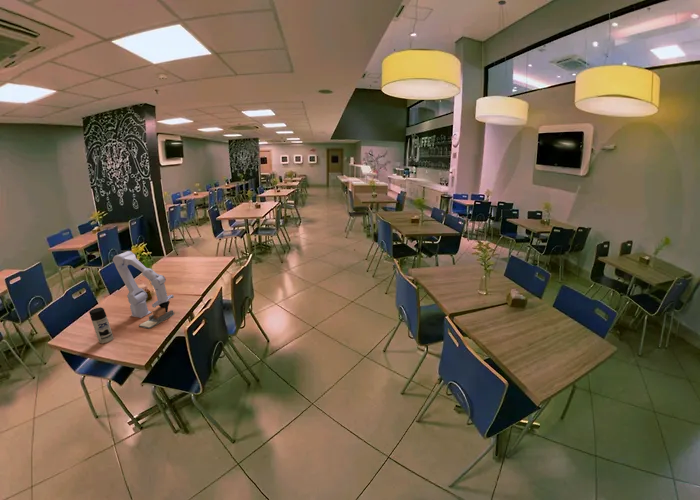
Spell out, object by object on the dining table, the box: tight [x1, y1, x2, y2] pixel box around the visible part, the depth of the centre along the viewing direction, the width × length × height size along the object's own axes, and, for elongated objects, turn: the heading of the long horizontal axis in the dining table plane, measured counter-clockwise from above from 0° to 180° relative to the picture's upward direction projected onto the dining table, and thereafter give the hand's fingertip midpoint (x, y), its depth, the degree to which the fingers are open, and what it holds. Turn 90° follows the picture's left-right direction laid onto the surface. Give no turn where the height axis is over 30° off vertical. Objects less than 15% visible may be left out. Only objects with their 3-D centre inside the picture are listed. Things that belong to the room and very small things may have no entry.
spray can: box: [88, 306, 114, 344], centre depth 165 cm, size 7×7×20 cm
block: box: [151, 306, 166, 319], centre depth 189 cm, size 5×5×6 cm
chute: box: [138, 309, 175, 330], centre depth 187 cm, size 9×18×3 cm, turn 162°
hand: (165, 311), depth 193 cm, fingers closed
